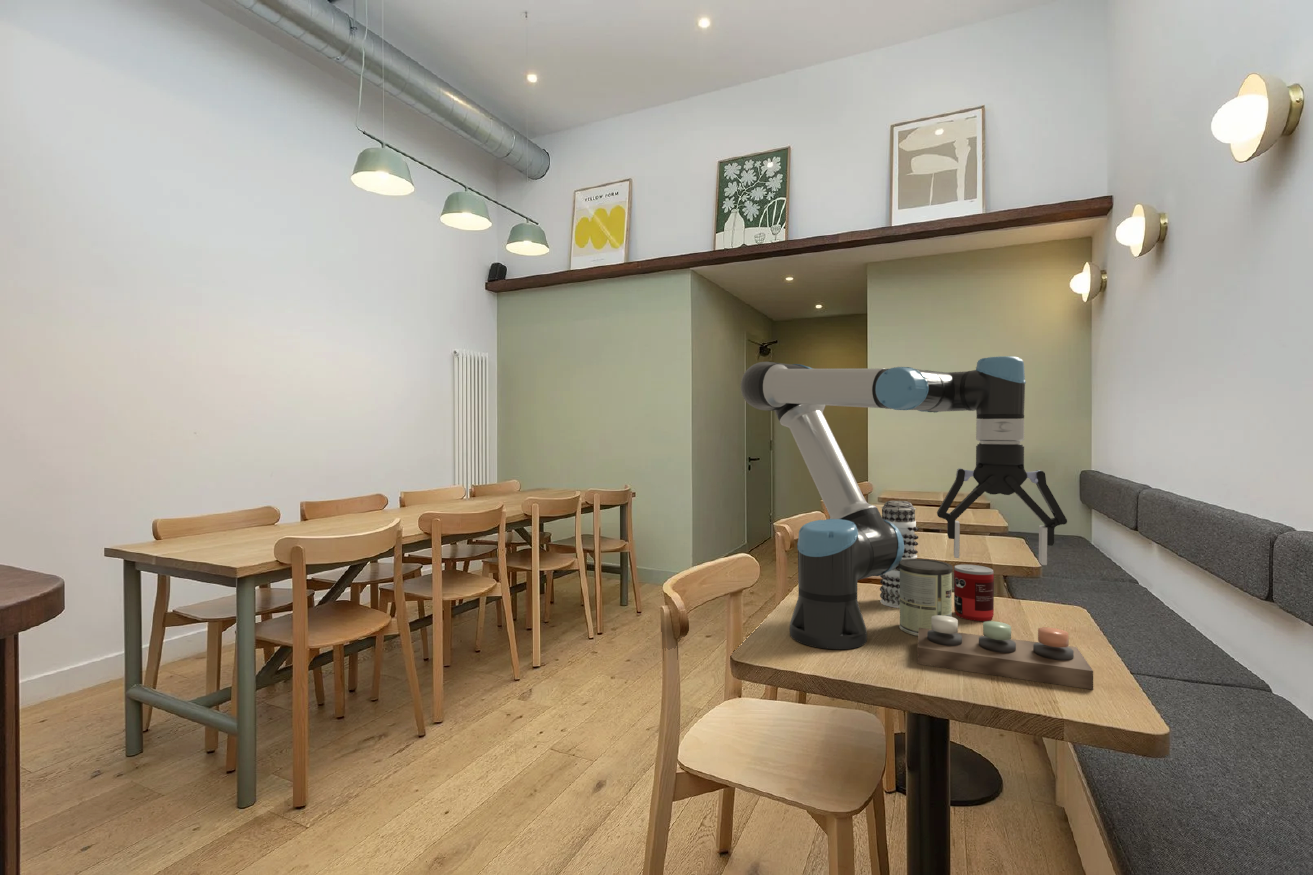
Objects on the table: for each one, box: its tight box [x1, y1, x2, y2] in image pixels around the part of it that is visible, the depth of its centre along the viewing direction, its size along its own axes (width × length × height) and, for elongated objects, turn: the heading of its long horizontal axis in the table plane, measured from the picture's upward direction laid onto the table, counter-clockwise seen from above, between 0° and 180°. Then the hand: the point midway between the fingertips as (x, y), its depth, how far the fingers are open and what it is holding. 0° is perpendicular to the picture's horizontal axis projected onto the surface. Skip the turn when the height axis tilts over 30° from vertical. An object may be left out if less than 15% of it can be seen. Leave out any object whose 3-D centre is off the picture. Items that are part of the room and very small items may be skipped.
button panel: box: [916, 628, 1094, 690], centre depth 106 cm, size 26×12×4 cm, turn 65°
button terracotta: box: [1037, 626, 1070, 647], centre depth 103 cm, size 4×4×2 cm
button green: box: [982, 620, 1012, 640], centre depth 106 cm, size 4×4×2 cm
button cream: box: [931, 615, 959, 634], centre depth 110 cm, size 4×4×2 cm
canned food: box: [953, 564, 995, 622], centre depth 134 cm, size 8×8×11 cm
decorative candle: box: [879, 500, 920, 609], centre depth 145 cm, size 9×9×25 cm
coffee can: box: [898, 558, 954, 637], centre depth 125 cm, size 10×10×14 cm
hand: (998, 560), depth 107 cm, fingers open, 13 cm apart
